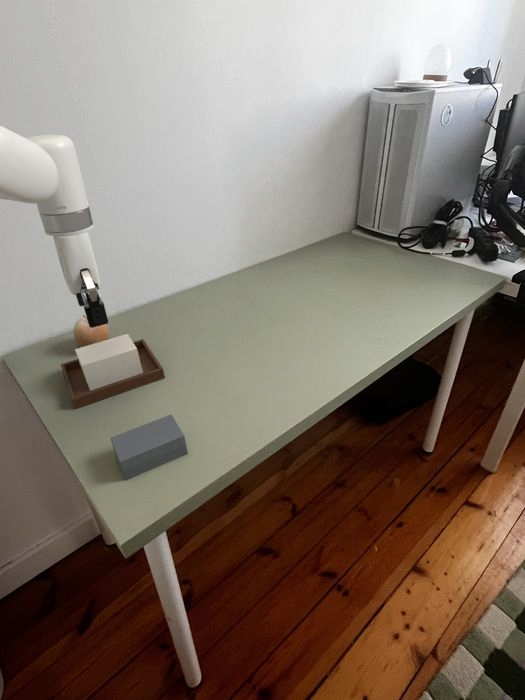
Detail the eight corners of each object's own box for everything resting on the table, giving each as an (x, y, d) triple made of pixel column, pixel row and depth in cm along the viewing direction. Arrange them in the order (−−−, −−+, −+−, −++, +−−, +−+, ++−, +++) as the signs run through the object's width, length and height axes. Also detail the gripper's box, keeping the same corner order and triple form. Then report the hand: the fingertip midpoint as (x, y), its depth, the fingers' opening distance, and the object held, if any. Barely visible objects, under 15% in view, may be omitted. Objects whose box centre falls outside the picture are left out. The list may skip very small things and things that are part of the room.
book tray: (75, 409, 79) (71, 399, 78) (63, 373, 89) (60, 364, 88) (165, 378, 86) (163, 368, 85) (145, 347, 96) (143, 338, 94)
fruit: (70, 353, 95) (59, 322, 90) (89, 336, 101) (80, 305, 96) (101, 357, 93) (91, 325, 89) (119, 339, 99) (110, 308, 95)
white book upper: (87, 382, 82) (84, 374, 80) (80, 365, 86) (77, 357, 85) (141, 365, 86) (139, 356, 85) (131, 349, 90) (129, 341, 89)
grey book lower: (125, 480, 65) (122, 471, 64) (116, 455, 69) (113, 446, 68) (187, 453, 69) (186, 444, 68) (175, 431, 73) (173, 423, 72)
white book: (84, 374, 80) (81, 365, 79) (77, 357, 85) (74, 349, 84) (139, 357, 85) (136, 348, 83) (129, 341, 89) (127, 333, 88)
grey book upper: (122, 471, 64) (119, 462, 63) (113, 446, 68) (110, 437, 67) (186, 444, 68) (184, 435, 67) (173, 423, 72) (171, 414, 71)
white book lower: (90, 391, 83) (87, 382, 82) (83, 373, 88) (80, 365, 86) (143, 373, 87) (141, 365, 86) (133, 357, 92) (131, 349, 91)
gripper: (36, 212, 75) (64, 301, 84) (50, 238, 62) (80, 340, 71) (81, 205, 78) (103, 292, 87) (103, 229, 65) (126, 328, 74)
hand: (93, 314), depth 79 cm, fingers open, 9 cm apart
